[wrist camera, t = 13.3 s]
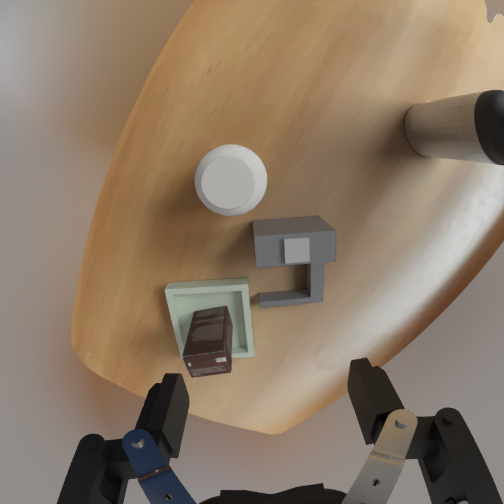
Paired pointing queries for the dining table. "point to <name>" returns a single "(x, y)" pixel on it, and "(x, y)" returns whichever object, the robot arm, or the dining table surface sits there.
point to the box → (209, 343)
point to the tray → (212, 296)
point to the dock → (295, 254)
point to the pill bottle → (230, 180)
